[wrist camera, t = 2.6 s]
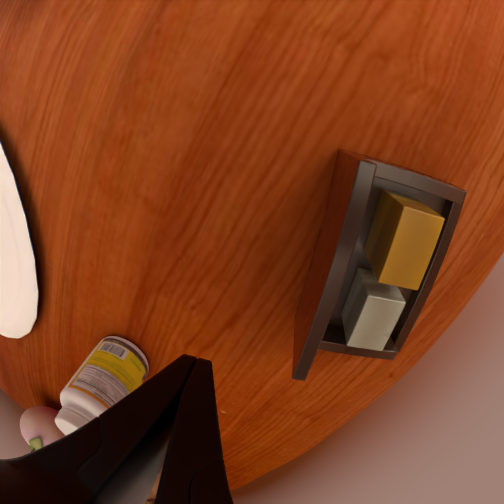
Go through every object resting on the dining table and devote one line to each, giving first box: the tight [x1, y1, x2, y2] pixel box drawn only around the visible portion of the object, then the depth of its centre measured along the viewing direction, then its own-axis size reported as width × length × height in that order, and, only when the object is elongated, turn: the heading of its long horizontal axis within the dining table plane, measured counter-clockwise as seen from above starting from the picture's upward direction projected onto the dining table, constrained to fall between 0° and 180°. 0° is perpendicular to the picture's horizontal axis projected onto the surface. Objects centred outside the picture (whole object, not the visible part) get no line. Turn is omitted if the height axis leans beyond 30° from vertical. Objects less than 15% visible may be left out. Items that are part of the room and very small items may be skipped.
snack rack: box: [292, 149, 466, 381], centre depth 16 cm, size 8×12×6 cm, turn 170°
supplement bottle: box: [55, 336, 149, 435], centre depth 21 cm, size 6×6×10 cm
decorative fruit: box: [20, 406, 66, 452], centre depth 31 cm, size 9×8×10 cm
